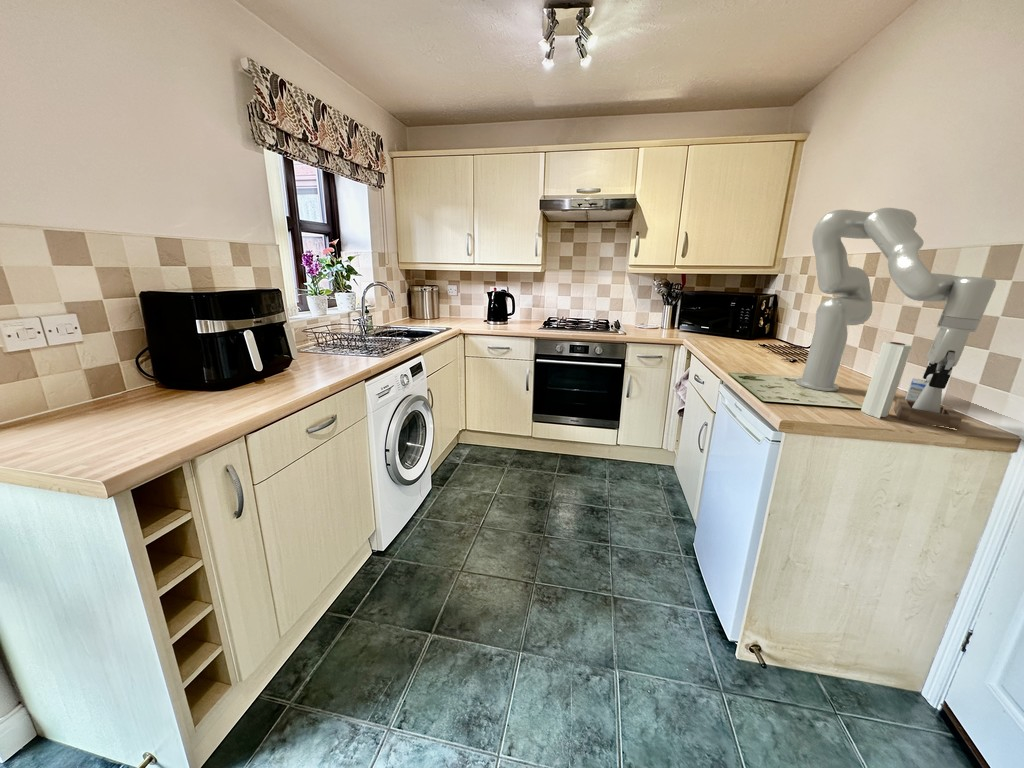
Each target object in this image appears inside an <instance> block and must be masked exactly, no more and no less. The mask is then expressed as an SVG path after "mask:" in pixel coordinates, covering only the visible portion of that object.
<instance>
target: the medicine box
mask: <svg viewBox="0 0 1024 768" xmlns="http://www.w3.org/2000/svg"><path fill="white" fill-rule="evenodd" d="M927 383H928V382H927V381H926V379H919V378H912V380H911V382H910V383H909V384H910V385H909V387H908V390H907V393H906V395H905V398H904V399H906V400H911V401H916V400H917V399H918V397H919V395H920V394H921V392H922V391H923V389H924V388H925V386H926V384H927Z"/></svg>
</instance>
